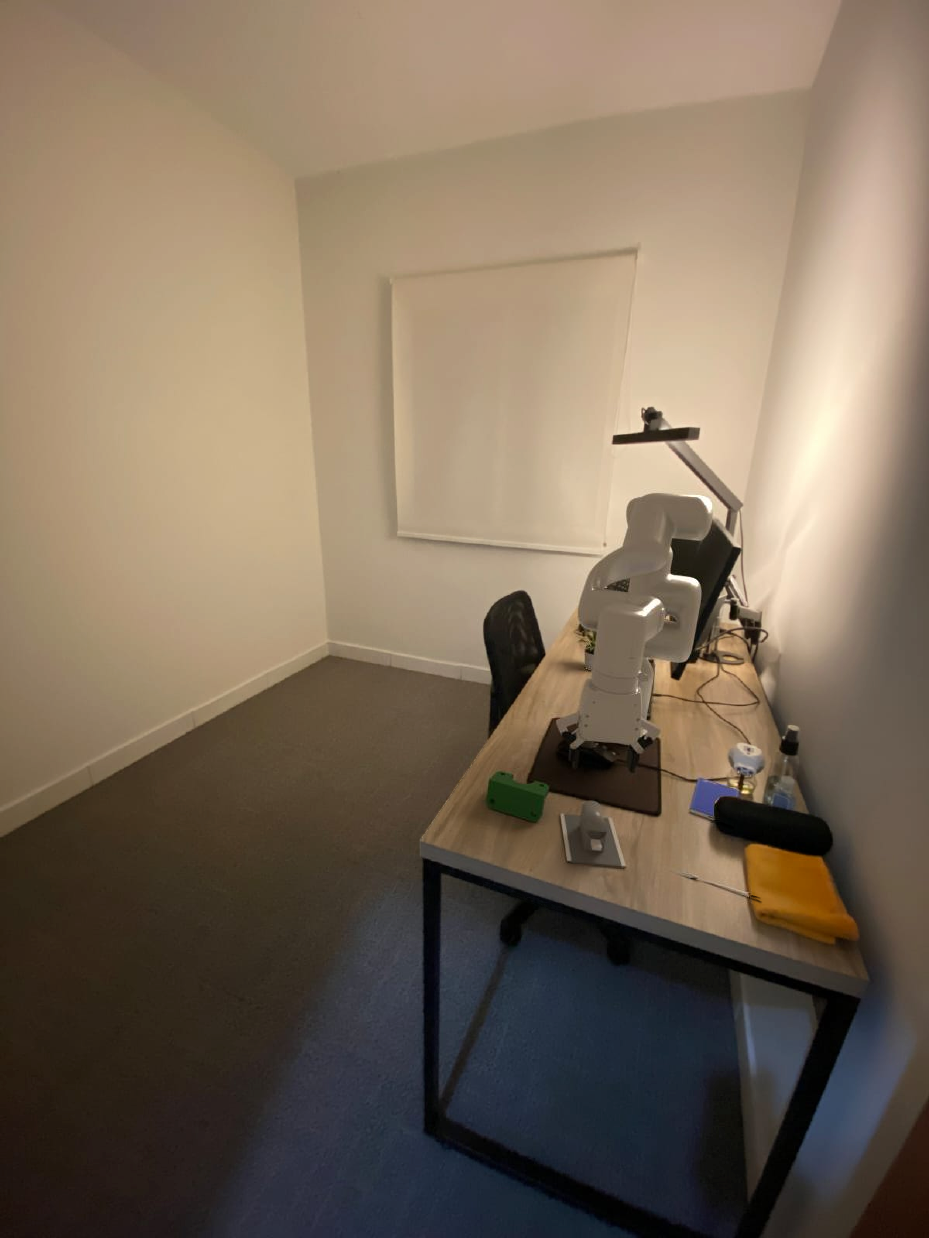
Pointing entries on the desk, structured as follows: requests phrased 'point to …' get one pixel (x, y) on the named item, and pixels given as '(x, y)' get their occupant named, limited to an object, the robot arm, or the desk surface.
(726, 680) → the desk surface
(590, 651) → the house plant
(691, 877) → the stylus
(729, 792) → the hard drive
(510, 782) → the clamp
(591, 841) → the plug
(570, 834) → the mat
